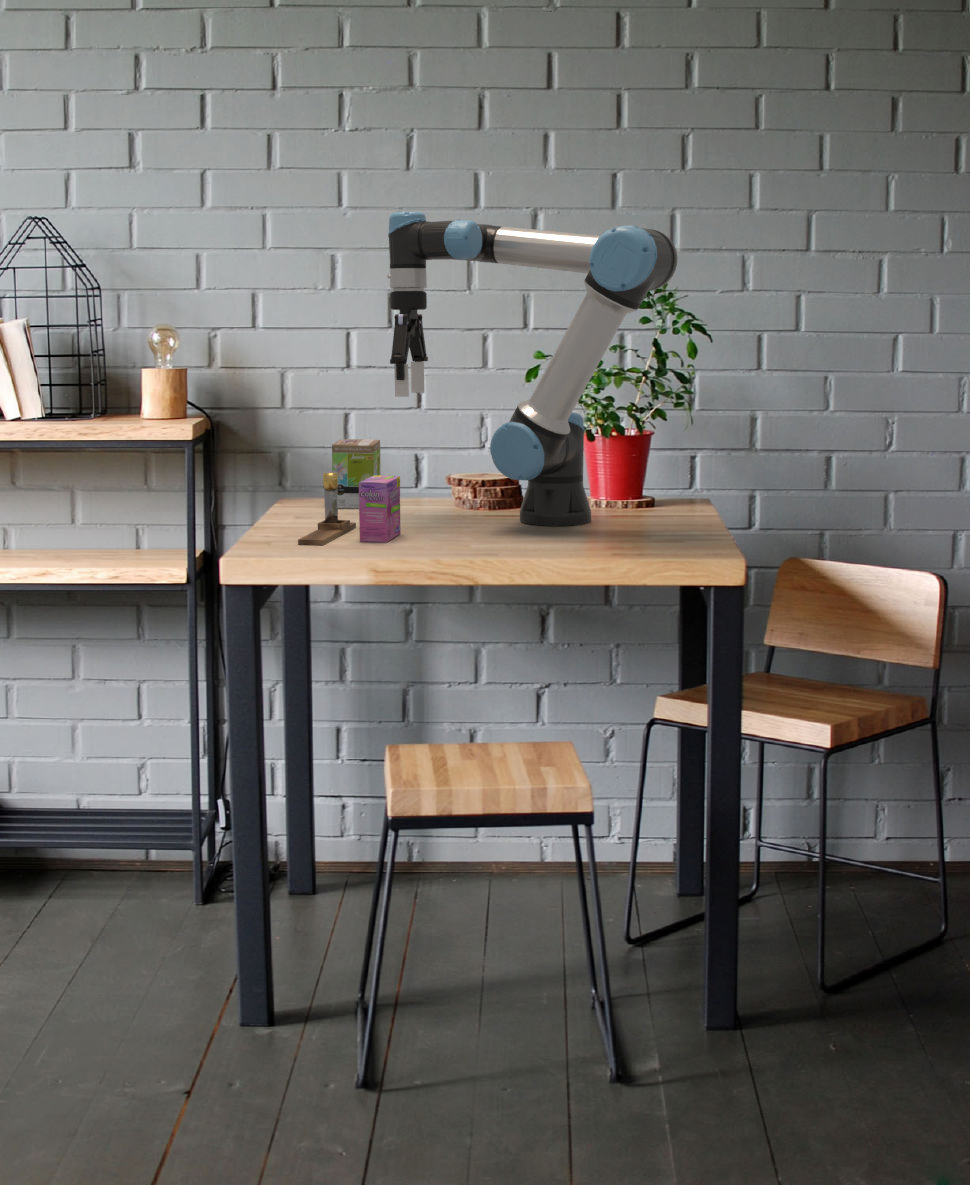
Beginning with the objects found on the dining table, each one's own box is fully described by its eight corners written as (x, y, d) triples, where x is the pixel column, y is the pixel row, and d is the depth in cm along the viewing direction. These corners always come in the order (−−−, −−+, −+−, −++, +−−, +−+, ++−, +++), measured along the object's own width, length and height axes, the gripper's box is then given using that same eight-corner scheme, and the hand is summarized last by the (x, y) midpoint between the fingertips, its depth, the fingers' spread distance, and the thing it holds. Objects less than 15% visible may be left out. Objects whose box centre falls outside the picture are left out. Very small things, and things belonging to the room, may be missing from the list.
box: (387, 543, 255) (386, 482, 253) (359, 542, 256) (357, 481, 254) (401, 534, 265) (400, 475, 263) (374, 533, 266) (372, 475, 264)
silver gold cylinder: (341, 526, 269) (339, 472, 267) (336, 528, 266) (335, 474, 264) (326, 526, 269) (325, 472, 267) (322, 528, 267) (320, 473, 264)
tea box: (375, 509, 300) (374, 443, 297) (331, 509, 300) (329, 444, 297) (381, 500, 315) (380, 437, 312) (339, 500, 315) (337, 437, 312)
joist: (356, 527, 274) (356, 516, 273) (323, 545, 253) (323, 534, 252) (332, 526, 275) (332, 516, 274) (297, 544, 254) (297, 533, 253)
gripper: (405, 291, 285) (407, 391, 289) (374, 289, 261) (376, 398, 265) (439, 291, 283) (440, 391, 287) (411, 289, 259) (413, 398, 264)
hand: (410, 394), depth 276 cm, fingers open, 13 cm apart
